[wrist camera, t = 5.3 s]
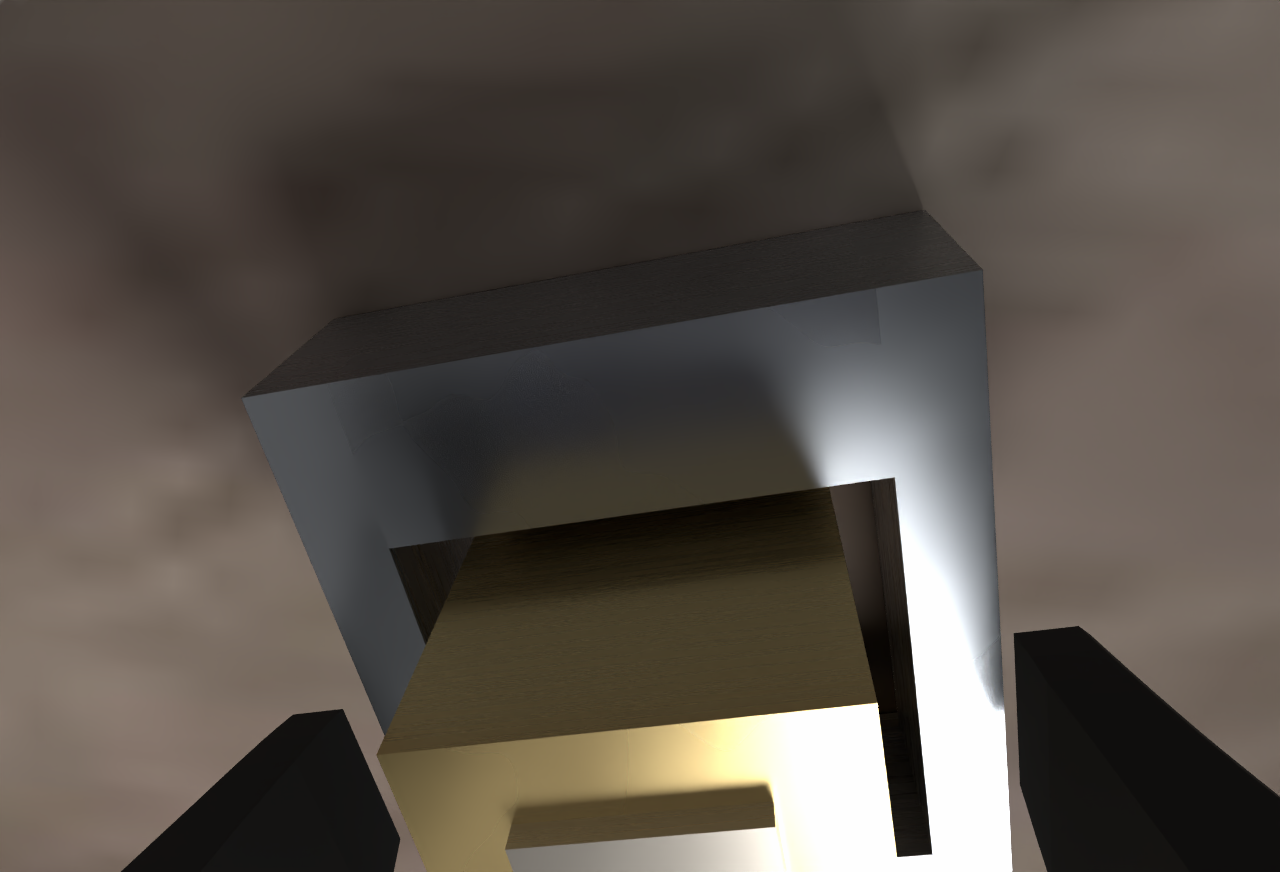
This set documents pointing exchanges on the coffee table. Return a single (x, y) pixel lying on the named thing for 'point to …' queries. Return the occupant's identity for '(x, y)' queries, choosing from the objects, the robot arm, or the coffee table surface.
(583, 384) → the grey slotted tray
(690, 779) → the gold square block
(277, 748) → the robot arm
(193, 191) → the coffee table surface
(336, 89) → the coffee table surface
